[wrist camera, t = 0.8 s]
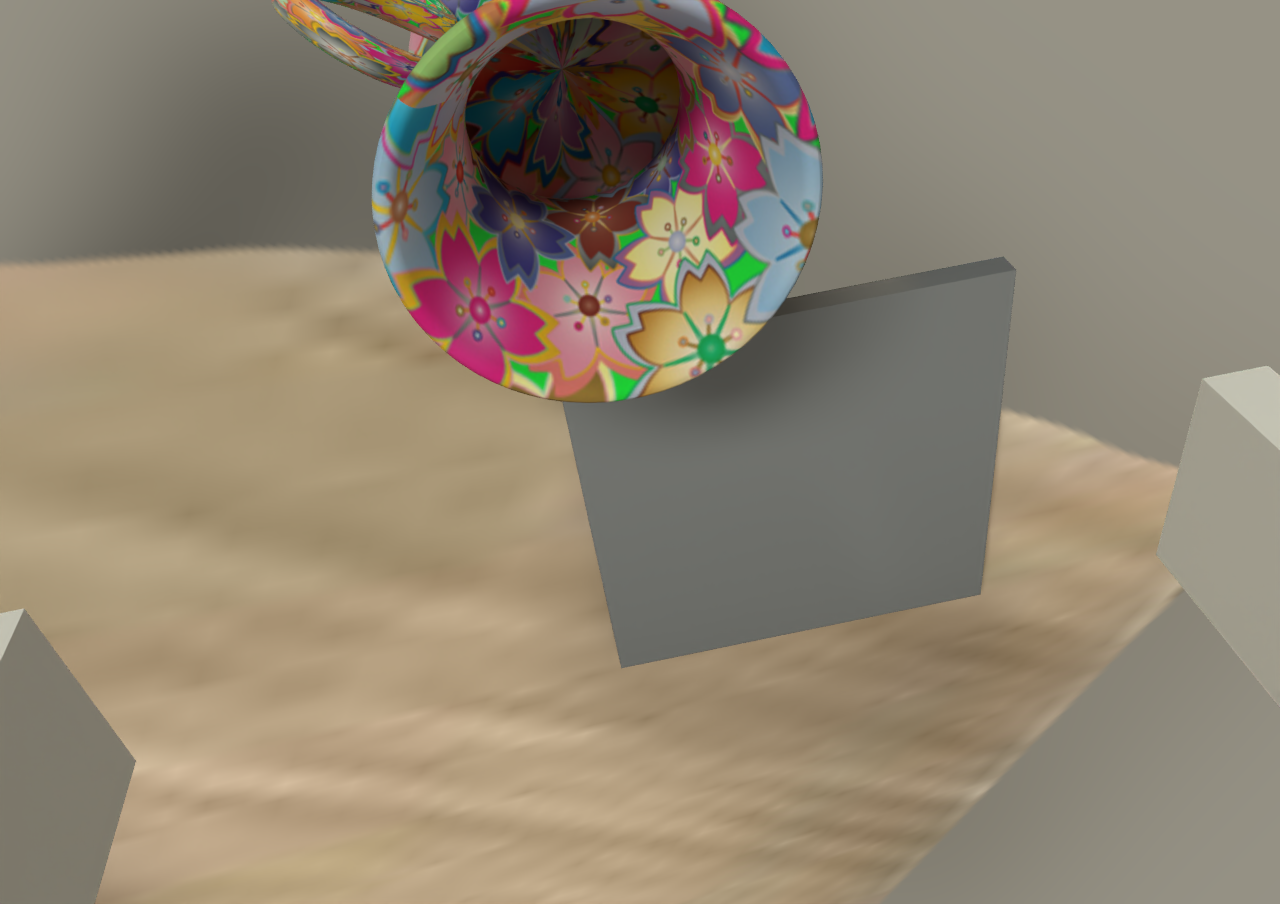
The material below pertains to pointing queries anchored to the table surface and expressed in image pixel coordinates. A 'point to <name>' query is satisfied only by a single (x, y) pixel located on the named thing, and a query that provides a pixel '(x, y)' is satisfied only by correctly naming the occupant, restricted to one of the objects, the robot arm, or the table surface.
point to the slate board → (805, 468)
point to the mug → (584, 183)
